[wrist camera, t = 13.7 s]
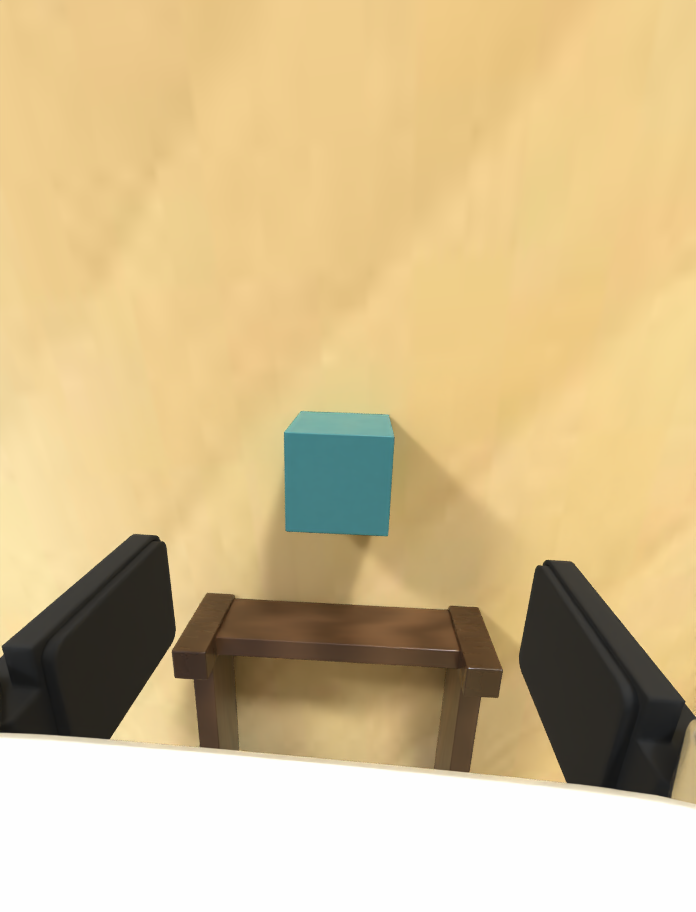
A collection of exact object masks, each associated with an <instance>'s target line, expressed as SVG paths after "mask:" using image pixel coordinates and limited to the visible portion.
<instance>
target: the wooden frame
mask: <svg viewBox="0 0 696 912" xmlns="http://www.w3.org/2000/svg"><path fill="white" fill-rule="evenodd" d="M234 656H250V657H268V658H285V659H302V660H319V661H336V662H353V663H370V664H387V665H404V666H421V667H438V668H446V677H445V685H444V693H443V701H442V709H441V717H440V725H439V734H438V742H437V750H436V758H435V766H434V769H437V770H448V771H458V772H468V773H469V771H470V764H471V758H472V752H473V745H474V739H475V732H476V726H477V720H478V713H479V707H480V701H481V697H491V698H498V696H499V690H500V684H501V679H502V673H503V669H502V667H501V664H500V662H499V659H498V657H497V654H496V652H495V649H494V646H493V644H492V641H491V639H490V636H489V634H488V631H487V629H486V626H485V624H484V621H483V619H482V616H481V614H480V611H479V609H478V608H477V607H458V606H449V610H436V609H418V608H399V607H381V606H362V605H344V604H325V603H307V602H288V601H270V600H251V599H235V598H234V595H231V594H213V593H207V594H206V595H205V597H204V599H203V600H202V602H201V603H200V605H199V607H198V608H197V610H196V612H195V613H194V615H193V617H192V618H191V620H190V622H189V623H188V625H187V627H186V628H185V630H184V632H183V633H182V635H181V636H180V638H179V640H178V641H177V643H176V645H175V646H174V648H173V650H172V658H173V667H174V676H175V678H181V679H194V688H195V698H196V709H197V719H198V729H199V740H200V747H203V748H214V749H226V750H237V751H239V738H238V722H237V705H236V689H235V673H234Z"/></svg>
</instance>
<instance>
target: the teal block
mask: <svg viewBox="0 0 696 912" xmlns="http://www.w3.org/2000/svg"><path fill="white" fill-rule="evenodd" d="M394 438H395V437H394V433H393V429H392V425H391V421H390V417H389V415H385V414H359V413H333V412H306V411H301V412H300V413H299V414H298V416H297V417H296V418H295V419H294V421H293V422H292V423H291V424H290V426H289V427H288V428H287V429H286V431H285V432H284V461H285V528H286V531H287V532H308V533H329V534H350V535H372V536H388V531H389V515H390V500H391V484H392V469H393V453H394Z"/></svg>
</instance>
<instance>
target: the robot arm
mask: <svg viewBox="0 0 696 912" xmlns="http://www.w3.org/2000/svg"><path fill="white" fill-rule="evenodd" d="M175 631H176V626H175V617H174V609H173V600H172V591H171V583H170V574H169V565H168V556H167V548H166V544H165V543H164V542H162V541H160V539H159V537H158V536H156V535H140V534H133V535H132V536H130V537H129V538H128V539H127V540H126V541H124V542H123V543H122V544H121V545H120V546H118V547H117V548H116V549H115V550H114V551H113V552H111V553H110V554H109V555H108V556H107V557H106V558H104V559H103V560H102V561H101V562H100V563H99V564H97V565H96V566H95V567H94V568H93V569H92V570H90V571H89V572H88V573H87V574H86V575H85V576H83V577H82V578H81V579H80V580H79V581H78V582H76V583H75V584H74V585H73V586H72V587H70V588H69V589H68V590H67V591H66V592H65V593H63V594H62V595H61V596H60V597H59V598H58V599H56V600H55V601H54V602H53V603H52V604H51V605H49V606H48V607H47V608H46V609H45V610H44V611H42V612H41V613H40V614H39V615H38V616H37V617H35V618H34V619H33V620H32V621H31V622H29V623H28V624H27V625H26V626H25V627H24V628H22V629H21V630H20V631H19V632H18V633H17V634H15V635H14V636H13V637H12V638H11V639H10V640H8V641H7V642H6V643H5V644H4V645H3V646H2V650H3V653H4V655H3V656H2V657H1V658H0V912H696V717H695V716H694V714H693V713H692V712H691V711H690V709H689V708H688V707H687V706H686V704H685V700H684V699H683V698H682V697H681V695H680V694H679V693H678V692H677V691H676V689H675V688H674V687H673V686H672V684H671V683H670V682H669V681H668V679H667V678H666V677H665V676H664V674H663V673H662V672H661V671H660V669H659V668H658V667H657V666H656V665H655V663H654V662H653V661H652V660H651V658H650V657H649V656H648V655H647V653H646V652H645V651H644V650H643V648H642V647H641V646H640V645H639V644H638V642H637V641H636V640H635V639H634V637H633V636H632V635H631V634H630V632H629V631H628V630H627V629H626V627H625V626H624V625H623V624H622V623H621V621H620V620H619V619H618V618H617V616H616V615H615V614H614V613H613V611H612V610H611V609H610V608H609V606H608V605H607V604H606V603H605V601H604V600H603V599H602V598H601V597H600V595H599V594H598V593H597V592H596V590H595V589H594V588H593V587H592V585H591V584H590V583H589V582H588V580H587V579H586V578H585V577H584V576H583V574H582V573H581V572H580V571H579V569H578V568H577V567H576V566H575V564H574V563H572V562H570V561H555V560H546V561H545V562H544V563H543V566H540V565H538V566H537V567H536V569H535V573H534V579H533V584H532V589H531V595H530V600H529V605H528V611H527V616H526V621H525V626H524V632H523V637H522V642H521V648H520V653H519V663H520V669H521V672H522V674H523V677H524V679H525V682H526V684H527V686H528V689H529V691H530V694H531V696H532V699H533V701H534V704H535V706H536V709H537V711H538V713H539V716H540V718H541V721H542V723H543V726H544V728H545V731H546V733H547V736H548V738H549V740H550V743H551V745H552V748H553V750H554V753H555V755H556V758H557V760H558V763H559V765H560V767H561V770H562V772H563V775H564V777H565V780H566V782H567V783H562V782H552V781H544V780H535V779H527V778H518V777H508V776H498V775H488V774H478V773H468V772H458V771H448V770H437V769H427V768H417V767H407V766H397V765H387V764H377V763H366V762H355V761H345V760H334V759H324V758H313V757H302V756H291V755H280V754H270V753H259V752H248V751H237V750H226V749H214V748H203V747H191V746H180V745H168V744H157V743H145V742H134V741H122V740H110V738H111V736H112V735H113V733H114V732H115V730H116V729H117V727H118V726H119V724H120V723H121V721H122V719H123V718H124V716H125V715H126V713H127V712H128V710H129V709H130V707H131V706H132V704H133V702H134V701H135V699H136V698H137V696H138V695H139V693H140V692H141V690H142V689H143V687H144V686H145V684H146V682H147V681H148V679H149V678H150V676H151V675H152V673H153V672H154V670H155V669H156V667H157V666H158V664H159V662H160V661H161V659H162V658H163V656H164V655H165V653H166V652H167V650H168V649H169V647H170V646H171V644H172V642H173V640H174V637H175Z"/></svg>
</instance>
